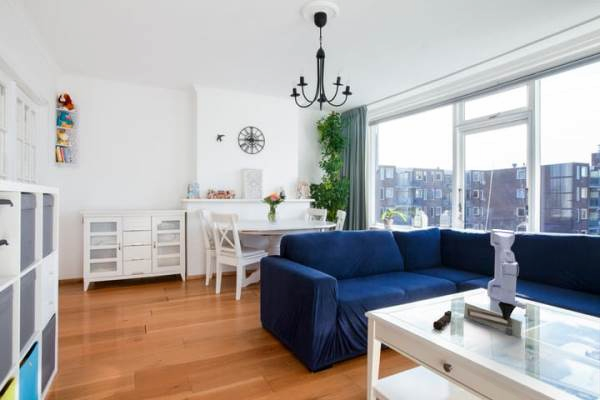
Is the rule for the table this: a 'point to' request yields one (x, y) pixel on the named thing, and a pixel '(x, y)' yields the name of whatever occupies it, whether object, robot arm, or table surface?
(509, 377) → the table surface
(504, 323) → the grooved wooden rail
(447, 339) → the table surface
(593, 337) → the table surface
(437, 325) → the dark brown bar
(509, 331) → the wall panel
